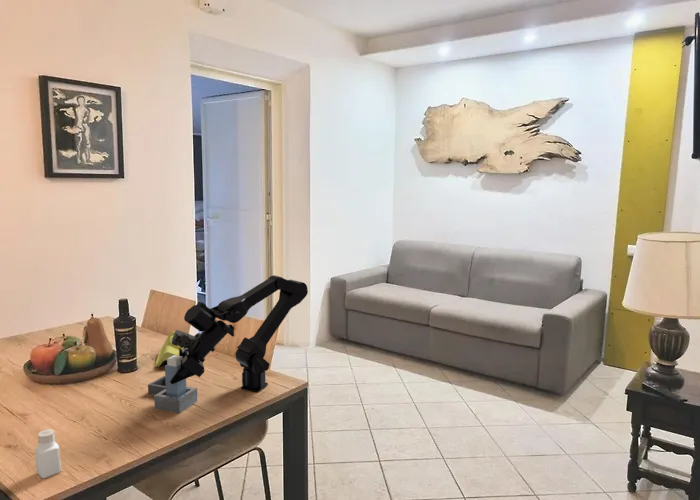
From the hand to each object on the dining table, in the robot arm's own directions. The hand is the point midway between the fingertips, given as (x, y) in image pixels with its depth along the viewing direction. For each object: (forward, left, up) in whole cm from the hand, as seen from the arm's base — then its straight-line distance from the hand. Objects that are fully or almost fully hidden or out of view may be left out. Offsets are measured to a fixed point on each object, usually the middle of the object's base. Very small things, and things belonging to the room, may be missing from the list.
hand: (170, 379), depth 144 cm
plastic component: (+23, -33, -8) cm, 42 cm away
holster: (+8, -8, -8) cm, 14 cm away
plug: (-1, -1, -7) cm, 7 cm away
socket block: (-1, -1, -8) cm, 8 cm away
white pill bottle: (+4, +37, -8) cm, 38 cm away
